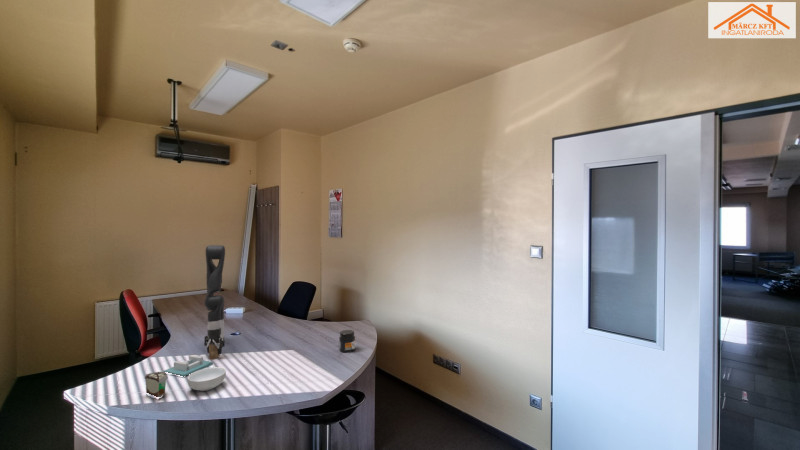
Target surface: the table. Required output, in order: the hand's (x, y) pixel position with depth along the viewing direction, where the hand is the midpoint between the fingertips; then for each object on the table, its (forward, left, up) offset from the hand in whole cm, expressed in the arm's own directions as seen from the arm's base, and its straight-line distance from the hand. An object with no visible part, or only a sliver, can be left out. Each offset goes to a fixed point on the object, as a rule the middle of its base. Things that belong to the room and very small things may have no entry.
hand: (214, 353), depth 202 cm
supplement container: (+74, +37, -3) cm, 83 cm away
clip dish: (0, -17, -3) cm, 17 cm away
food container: (+14, -43, -3) cm, 45 cm away
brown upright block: (0, 0, -3) cm, 3 cm away
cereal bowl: (+30, -30, -3) cm, 42 cm away
